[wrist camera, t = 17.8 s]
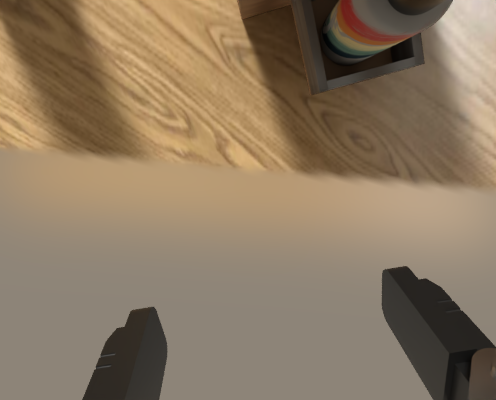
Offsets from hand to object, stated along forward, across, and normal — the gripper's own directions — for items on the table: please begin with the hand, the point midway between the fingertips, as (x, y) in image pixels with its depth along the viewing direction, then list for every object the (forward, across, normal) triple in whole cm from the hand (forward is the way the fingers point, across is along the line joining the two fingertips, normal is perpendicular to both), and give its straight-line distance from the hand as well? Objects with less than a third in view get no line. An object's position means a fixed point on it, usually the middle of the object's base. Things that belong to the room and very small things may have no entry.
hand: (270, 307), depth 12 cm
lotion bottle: (+29, -13, -8) cm, 32 cm away
